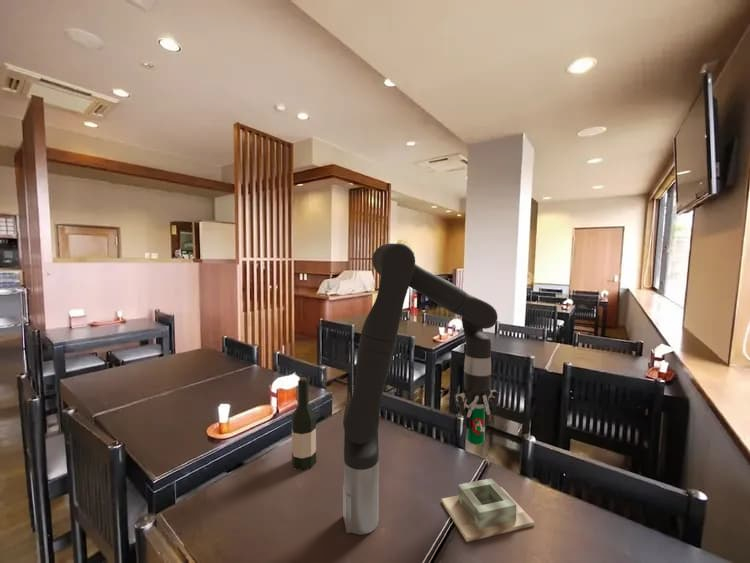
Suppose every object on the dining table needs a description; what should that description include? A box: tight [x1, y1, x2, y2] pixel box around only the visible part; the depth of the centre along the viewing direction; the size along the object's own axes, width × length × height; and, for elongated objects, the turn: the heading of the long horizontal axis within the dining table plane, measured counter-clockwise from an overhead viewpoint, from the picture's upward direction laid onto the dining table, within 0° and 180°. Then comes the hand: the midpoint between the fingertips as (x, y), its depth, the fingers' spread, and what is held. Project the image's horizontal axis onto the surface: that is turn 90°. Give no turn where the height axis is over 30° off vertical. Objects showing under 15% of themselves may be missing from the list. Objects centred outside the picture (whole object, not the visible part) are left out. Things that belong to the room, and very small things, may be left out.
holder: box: [440, 477, 535, 543], centre depth 90 cm, size 20×14×6 cm
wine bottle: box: [291, 376, 317, 471], centre depth 112 cm, size 8×8×30 cm
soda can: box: [466, 403, 486, 446], centre depth 96 cm, size 5×5×12 cm
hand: (476, 426), depth 96 cm, fingers closed on soda can, 5 cm apart
